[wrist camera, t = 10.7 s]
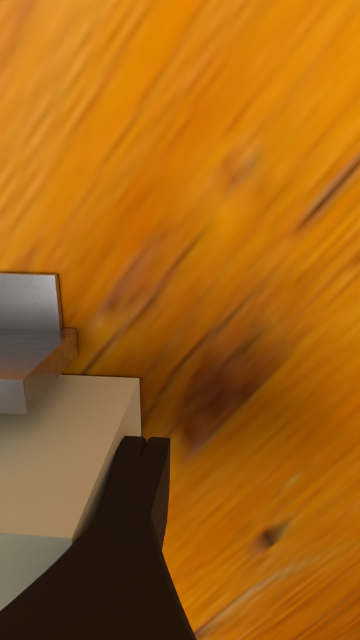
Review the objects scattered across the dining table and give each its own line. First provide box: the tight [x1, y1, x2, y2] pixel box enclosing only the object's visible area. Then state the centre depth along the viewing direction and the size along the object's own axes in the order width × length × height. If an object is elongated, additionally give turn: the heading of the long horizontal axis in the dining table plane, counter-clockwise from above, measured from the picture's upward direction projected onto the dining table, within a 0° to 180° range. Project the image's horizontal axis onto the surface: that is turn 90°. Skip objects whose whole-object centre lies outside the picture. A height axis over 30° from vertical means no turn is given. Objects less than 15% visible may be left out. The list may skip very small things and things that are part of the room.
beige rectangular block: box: [0, 375, 141, 610], centre depth 10 cm, size 6×4×6 cm, turn 90°
